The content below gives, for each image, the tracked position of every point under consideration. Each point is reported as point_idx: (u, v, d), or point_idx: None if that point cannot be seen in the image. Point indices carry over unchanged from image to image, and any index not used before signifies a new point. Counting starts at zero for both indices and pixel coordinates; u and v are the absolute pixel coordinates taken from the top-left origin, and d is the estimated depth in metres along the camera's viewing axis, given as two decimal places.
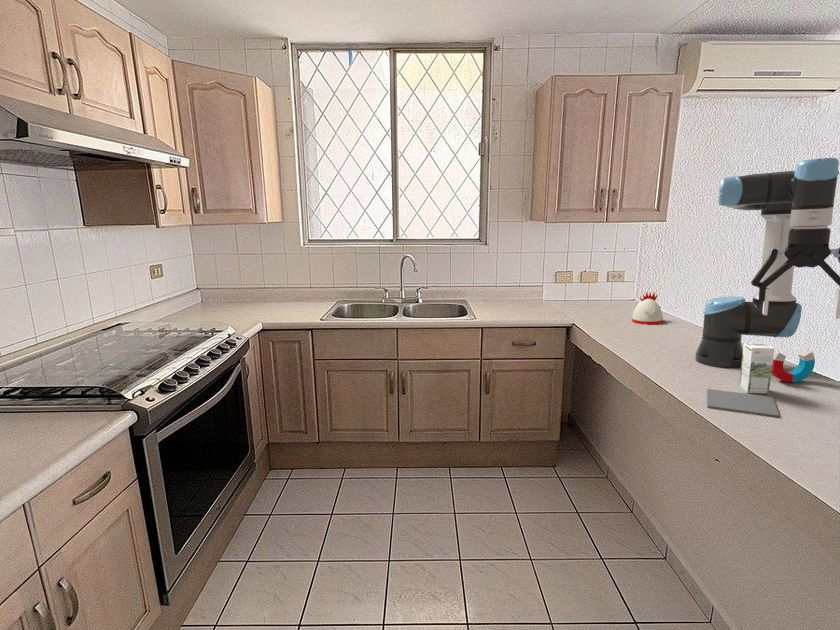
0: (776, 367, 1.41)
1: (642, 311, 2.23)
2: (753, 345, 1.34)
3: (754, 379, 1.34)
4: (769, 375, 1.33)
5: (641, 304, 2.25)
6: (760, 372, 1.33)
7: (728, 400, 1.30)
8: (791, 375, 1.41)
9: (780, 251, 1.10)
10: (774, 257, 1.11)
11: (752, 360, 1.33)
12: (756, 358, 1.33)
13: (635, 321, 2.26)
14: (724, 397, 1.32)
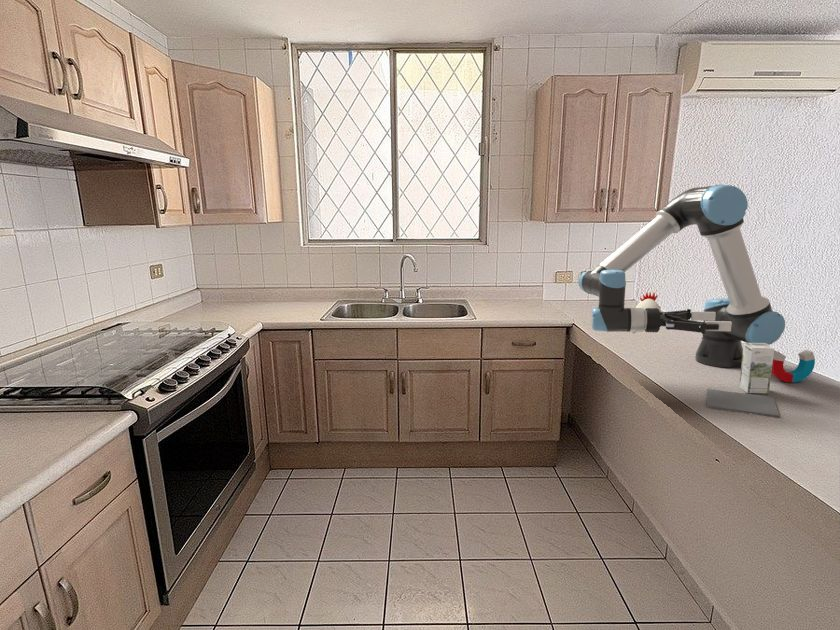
0: (776, 367, 1.41)
1: None
2: (753, 345, 1.34)
3: (754, 379, 1.34)
4: (769, 375, 1.33)
5: (641, 304, 2.25)
6: (760, 372, 1.33)
7: (728, 400, 1.30)
8: (791, 375, 1.41)
9: None
10: None
11: (752, 360, 1.33)
12: (756, 358, 1.33)
13: None
14: (724, 397, 1.32)
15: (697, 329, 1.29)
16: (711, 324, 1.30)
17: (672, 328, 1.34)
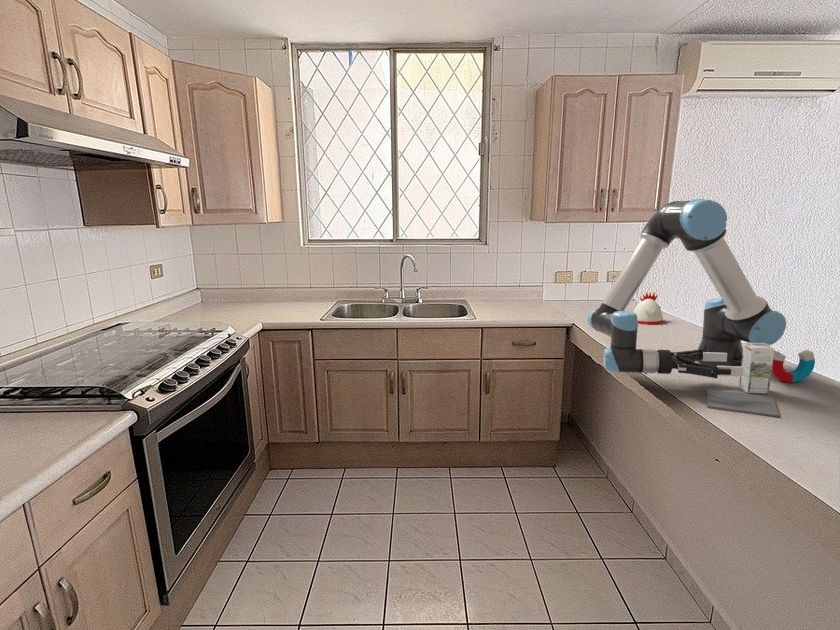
0: (776, 367, 1.41)
1: (642, 311, 2.23)
2: (753, 345, 1.34)
3: (754, 379, 1.34)
4: (769, 375, 1.33)
5: (641, 304, 2.25)
6: (760, 372, 1.33)
7: (728, 400, 1.30)
8: (791, 375, 1.41)
9: None
10: None
11: (752, 360, 1.33)
12: (756, 358, 1.33)
13: None
14: (724, 397, 1.32)
15: (709, 374, 1.31)
16: (723, 369, 1.31)
17: (684, 372, 1.35)
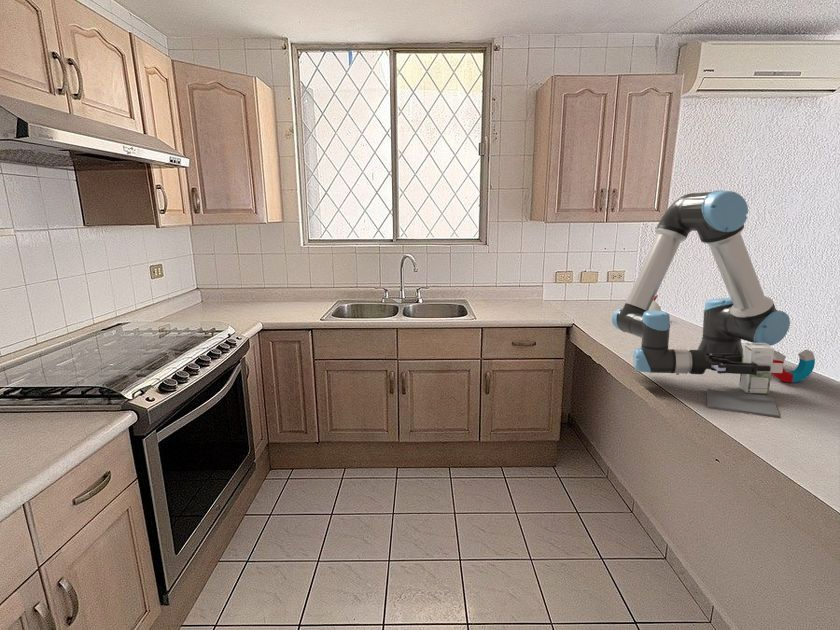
0: None
1: None
2: (753, 345, 1.34)
3: (754, 379, 1.34)
4: (769, 375, 1.33)
5: None
6: (760, 372, 1.33)
7: (728, 400, 1.30)
8: (791, 375, 1.41)
9: None
10: None
11: (752, 360, 1.33)
12: (756, 358, 1.33)
13: None
14: (724, 397, 1.32)
15: (750, 371, 1.31)
16: (762, 366, 1.31)
17: (724, 372, 1.33)
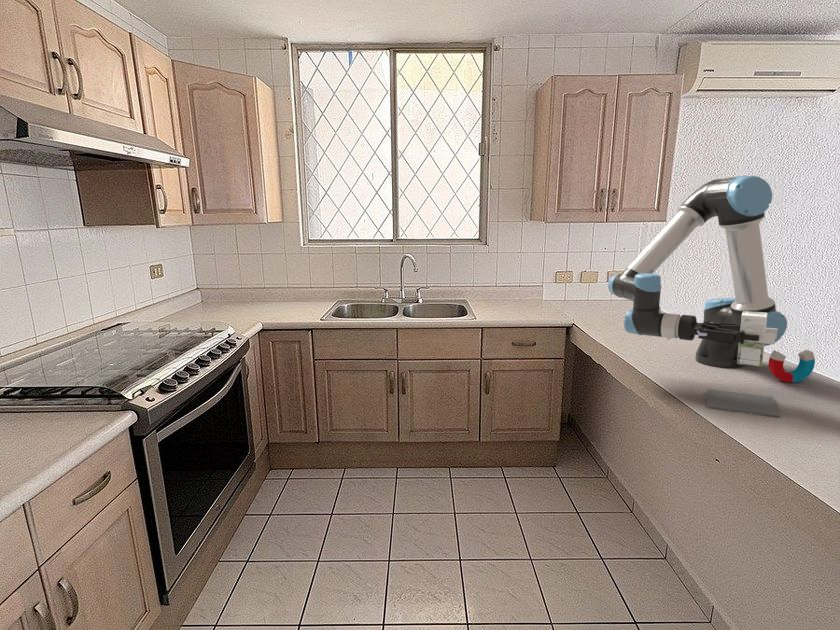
0: (776, 367, 1.41)
1: None
2: (747, 313, 1.26)
3: (744, 349, 1.26)
4: (762, 346, 1.23)
5: None
6: (750, 342, 1.25)
7: (728, 400, 1.30)
8: (791, 375, 1.41)
9: None
10: None
11: (742, 328, 1.25)
12: (746, 326, 1.24)
13: None
14: (724, 397, 1.32)
15: (732, 339, 1.24)
16: (749, 335, 1.23)
17: (705, 337, 1.28)
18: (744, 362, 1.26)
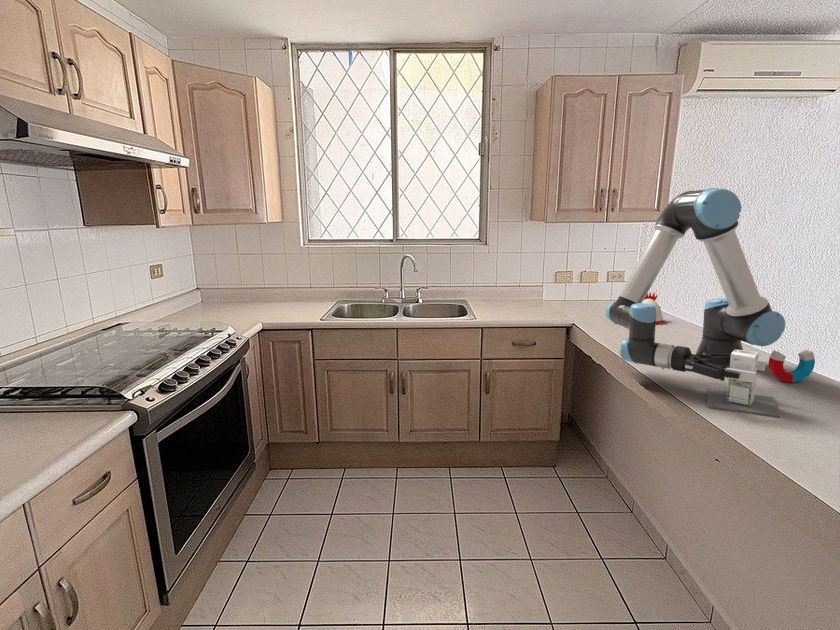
0: (776, 367, 1.41)
1: None
2: (737, 352, 1.27)
3: (733, 387, 1.27)
4: (750, 386, 1.24)
5: None
6: (739, 381, 1.26)
7: None
8: (791, 375, 1.41)
9: None
10: None
11: (731, 366, 1.27)
12: (735, 365, 1.26)
13: None
14: (724, 397, 1.32)
15: (712, 375, 1.25)
16: (730, 372, 1.23)
17: (690, 370, 1.31)
18: (733, 400, 1.28)
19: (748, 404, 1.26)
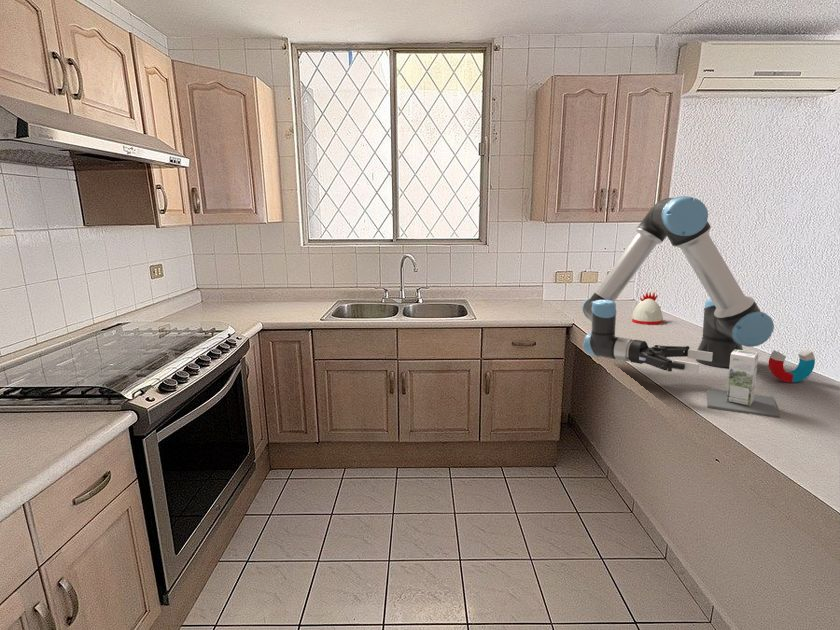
0: (776, 367, 1.41)
1: (642, 311, 2.23)
2: (737, 352, 1.27)
3: (733, 387, 1.27)
4: (750, 386, 1.24)
5: (641, 304, 2.25)
6: (739, 381, 1.26)
7: None
8: (791, 375, 1.41)
9: None
10: None
11: (731, 366, 1.27)
12: (735, 365, 1.26)
13: (635, 321, 2.26)
14: (724, 397, 1.32)
15: (660, 366, 1.34)
16: (676, 363, 1.32)
17: (643, 362, 1.40)
18: (733, 400, 1.28)
19: (748, 404, 1.26)
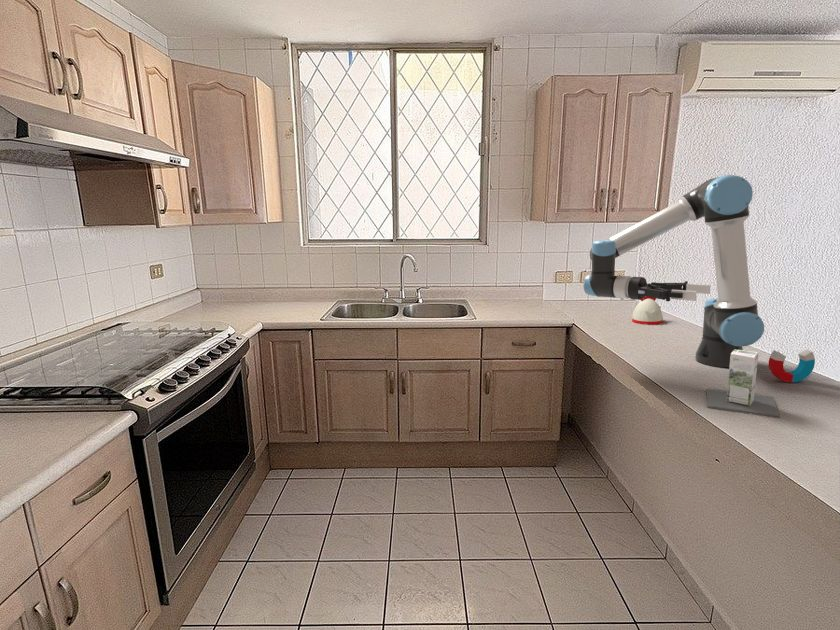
0: (776, 367, 1.41)
1: (642, 311, 2.23)
2: (737, 352, 1.27)
3: (733, 387, 1.27)
4: (750, 386, 1.24)
5: (641, 304, 2.25)
6: (739, 381, 1.26)
7: None
8: (791, 375, 1.41)
9: None
10: None
11: (731, 366, 1.27)
12: (735, 365, 1.26)
13: (635, 321, 2.26)
14: (724, 397, 1.32)
15: (659, 296, 1.37)
16: (674, 292, 1.35)
17: (642, 295, 1.43)
18: (733, 400, 1.28)
19: (748, 404, 1.26)
